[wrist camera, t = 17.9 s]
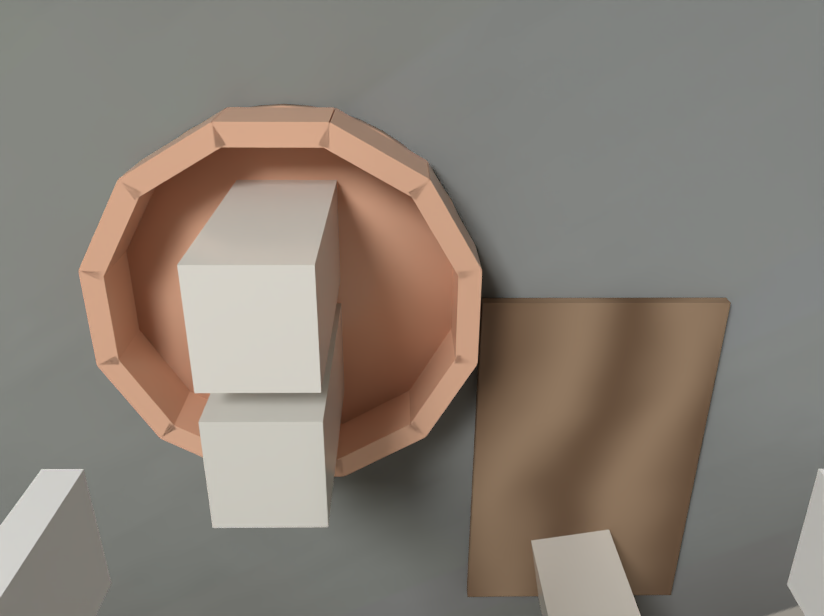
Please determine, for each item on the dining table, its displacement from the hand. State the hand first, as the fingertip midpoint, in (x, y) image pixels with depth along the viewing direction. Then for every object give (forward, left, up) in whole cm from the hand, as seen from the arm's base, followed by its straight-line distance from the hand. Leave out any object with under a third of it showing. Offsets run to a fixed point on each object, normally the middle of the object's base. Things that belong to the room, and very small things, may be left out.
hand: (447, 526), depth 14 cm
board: (-9, +15, -23) cm, 29 cm away
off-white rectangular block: (+6, +8, -22) cm, 24 cm away
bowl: (+6, +5, -23) cm, 24 cm away
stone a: (+6, +2, -22) cm, 23 cm away
